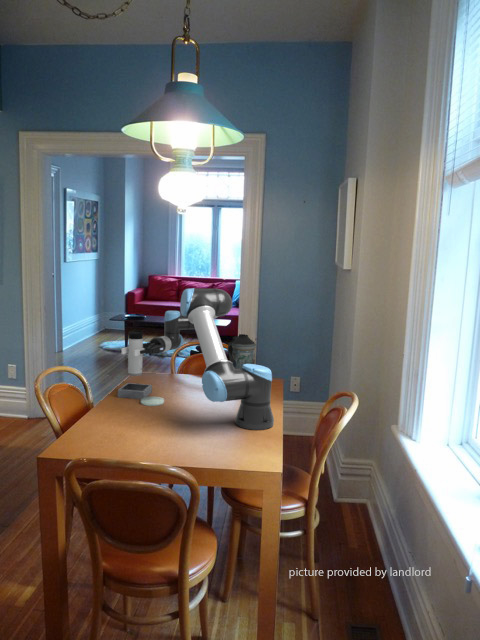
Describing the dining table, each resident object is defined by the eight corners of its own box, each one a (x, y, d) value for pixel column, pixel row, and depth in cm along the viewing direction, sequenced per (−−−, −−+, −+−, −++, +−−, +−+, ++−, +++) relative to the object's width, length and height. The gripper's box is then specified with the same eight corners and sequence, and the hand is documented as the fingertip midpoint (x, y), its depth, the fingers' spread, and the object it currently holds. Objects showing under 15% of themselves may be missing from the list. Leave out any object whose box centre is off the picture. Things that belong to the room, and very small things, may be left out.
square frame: (143, 399, 223) (143, 391, 222) (117, 397, 224) (117, 389, 224) (151, 392, 235) (152, 384, 234) (127, 390, 236) (127, 382, 236)
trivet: (160, 406, 214) (160, 404, 214) (137, 404, 215) (137, 402, 215) (166, 400, 224) (166, 397, 223) (145, 398, 225) (145, 395, 225)
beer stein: (250, 389, 246) (252, 339, 242) (215, 383, 254) (217, 335, 250) (263, 382, 261) (265, 334, 257) (229, 377, 269) (231, 330, 265)
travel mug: (145, 374, 229) (146, 331, 226) (133, 376, 224) (134, 332, 221) (137, 372, 233) (138, 329, 230) (125, 374, 228) (125, 330, 225)
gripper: (176, 355, 239) (145, 363, 218) (144, 350, 248) (111, 357, 227) (176, 339, 238) (145, 346, 217) (144, 335, 247) (111, 341, 226)
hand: (128, 352), depth 222 cm, fingers closed on travel mug, 6 cm apart
